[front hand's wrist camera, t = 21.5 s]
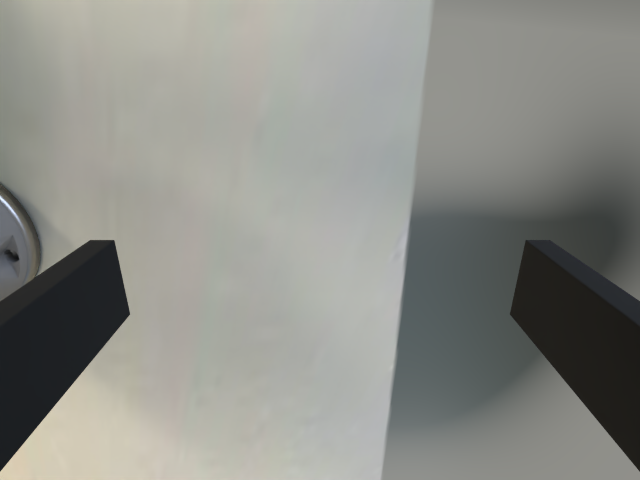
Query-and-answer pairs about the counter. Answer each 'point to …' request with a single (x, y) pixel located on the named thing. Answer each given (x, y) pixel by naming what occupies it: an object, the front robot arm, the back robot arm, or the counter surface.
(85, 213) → the counter surface
